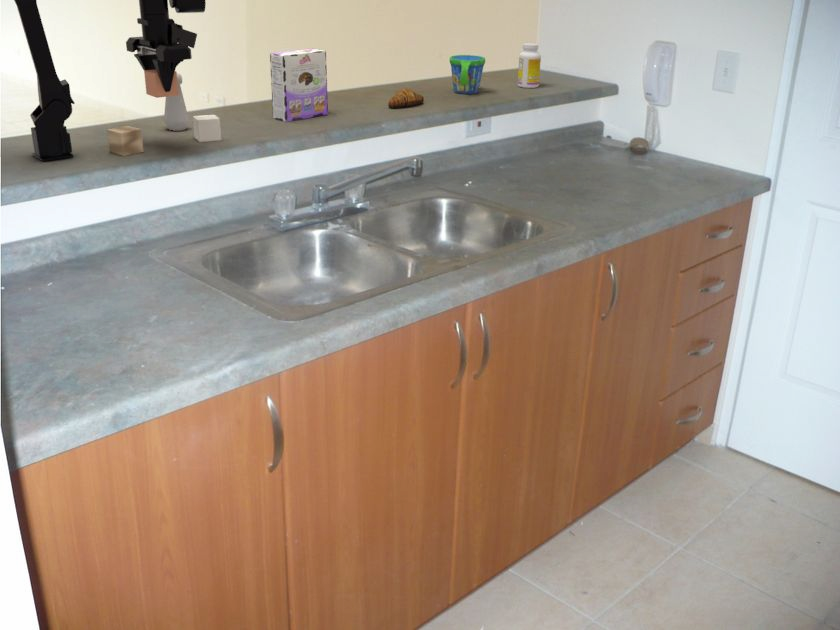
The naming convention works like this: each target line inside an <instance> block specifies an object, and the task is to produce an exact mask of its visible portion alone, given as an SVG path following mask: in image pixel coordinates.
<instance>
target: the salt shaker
mask: <svg viewBox="0 0 840 630" xmlns="http://www.w3.org/2000/svg"><path fill="white" fill-rule="evenodd" d="M177 82H178V93H179V95H177V96H168V97H165V100H164V101H165V102H164V112H163V113H164V115H163V116H164V117H163V121H164V124H165V126H166V127H167V130H168V129H169V130H168V131H171V130H173V131H172V132H181V131H186V130H187V127H188V125H189V122H190V119H189V115H188V110H187V106H186V101H185V99H184V94H183V91H182V87H181V85H182V84H183V77H182V75H181V74H180V73H177ZM185 129H186V130H185Z"/></svg>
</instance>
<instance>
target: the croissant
mask: <svg viewBox="0 0 840 630" xmlns="http://www.w3.org/2000/svg"><path fill="white" fill-rule="evenodd" d="M424 101H425V99H424V96H423V95H422V94H420V93H417V92H415V91H413V90H412V89H409V88H407V87H406V88H403V89H400V90H398V91H396V92H395V94H394V95H393V96H392V97H391V98H390V99H389V101H388V103H387V105H388V108H390V109H399V108H400V109H401V108H407V107H414V106H416V105H421V104H422V103H424Z"/></svg>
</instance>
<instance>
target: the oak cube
mask: <svg viewBox="0 0 840 630" xmlns="http://www.w3.org/2000/svg"><path fill="white" fill-rule="evenodd" d="M106 132H107V138H108V141H107V142H108V146H109V153H111V152H113V153H112V154H114V153H116V154H115V155H118V154H119V155H118V156H121V155H122V156H121V157H126V155H127V156H132V155H137V154H140V153H141V152H142V153H144V152H145V151H144V143H143V134H142V129H141V128H137V127H134V126H129V125H125V126H119V127H113V128H108V129H106ZM131 154H132V155H131Z"/></svg>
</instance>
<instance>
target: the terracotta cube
mask: <svg viewBox="0 0 840 630" xmlns="http://www.w3.org/2000/svg"><path fill="white" fill-rule="evenodd" d="M143 72H144V73H143V74H144V81H145V82H144V83H145V90H146V92H145V93H146V95H148V96H150V97H154V98H157V99H158V98H164V97H165V98H166V97H168V96H177V95H179V93H178V82H177V70H175V72H174V77H173V81H172V86H171V90H170V92H165V90H164V88H163V86H162V83H161V81H160V78H159V76H158V73H157V70H156V69H155V70H143Z"/></svg>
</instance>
